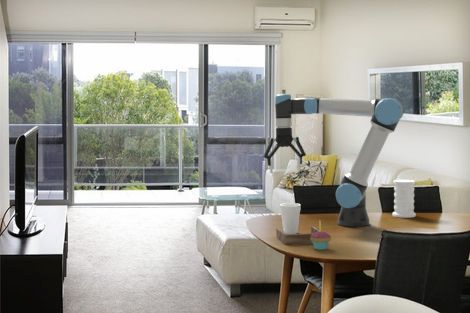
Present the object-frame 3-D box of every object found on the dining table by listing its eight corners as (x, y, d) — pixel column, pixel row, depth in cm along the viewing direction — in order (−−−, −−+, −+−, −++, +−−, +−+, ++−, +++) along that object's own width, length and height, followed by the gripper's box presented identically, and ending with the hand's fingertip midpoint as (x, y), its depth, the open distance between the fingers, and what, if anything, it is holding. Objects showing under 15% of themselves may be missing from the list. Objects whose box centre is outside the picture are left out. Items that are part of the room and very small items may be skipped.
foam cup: (275, 233, 339) (275, 204, 337) (288, 230, 345) (288, 202, 344) (292, 235, 332) (292, 207, 331) (304, 232, 339) (304, 204, 338)
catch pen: (276, 237, 329) (276, 228, 329) (313, 235, 333) (313, 226, 332) (285, 244, 314) (285, 235, 313) (324, 242, 317) (324, 233, 316)
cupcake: (308, 246, 309) (308, 218, 308) (328, 246, 310) (328, 217, 309) (312, 251, 301) (312, 222, 300) (333, 250, 302) (333, 221, 300)
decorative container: (392, 217, 375) (392, 182, 374) (392, 213, 387) (392, 179, 385) (415, 218, 373) (416, 182, 371) (415, 214, 384) (415, 179, 382)
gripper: (306, 125, 356) (307, 169, 358) (256, 128, 351) (257, 172, 353) (311, 126, 349) (312, 171, 351) (260, 128, 344) (261, 174, 346)
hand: (285, 172), depth 352 cm, fingers open, 13 cm apart
